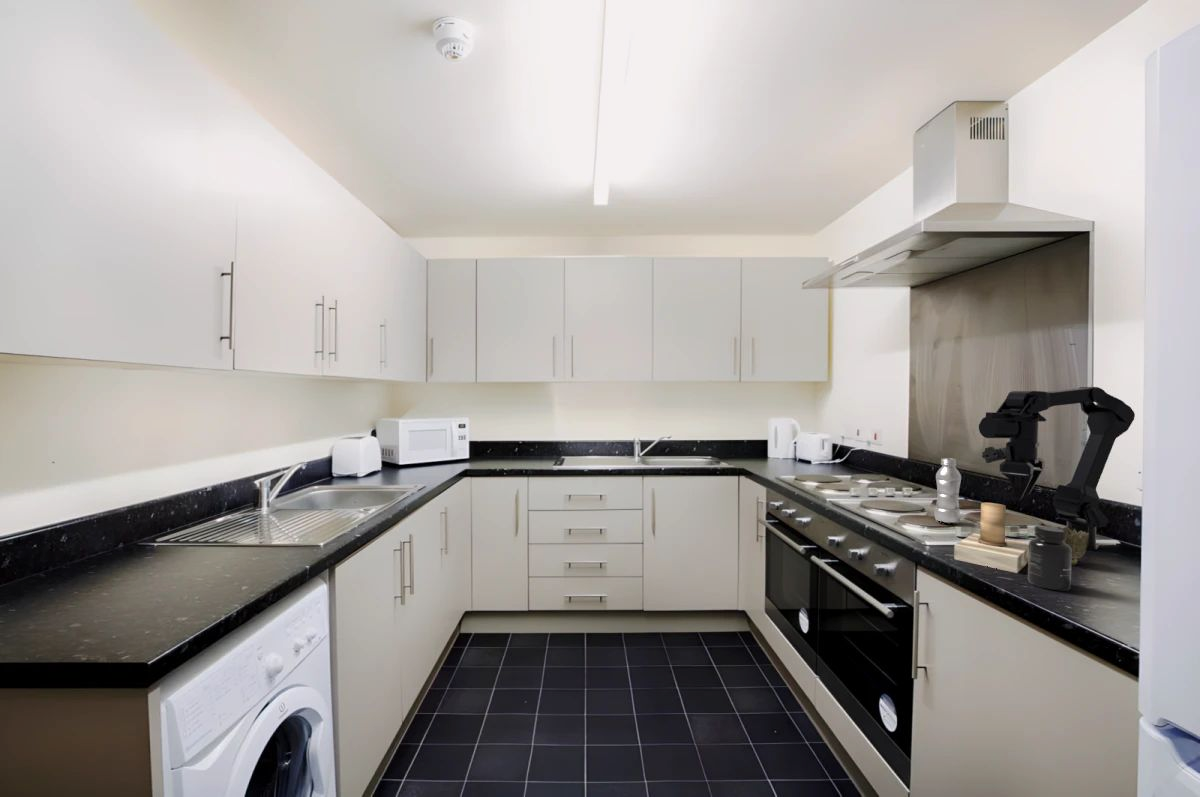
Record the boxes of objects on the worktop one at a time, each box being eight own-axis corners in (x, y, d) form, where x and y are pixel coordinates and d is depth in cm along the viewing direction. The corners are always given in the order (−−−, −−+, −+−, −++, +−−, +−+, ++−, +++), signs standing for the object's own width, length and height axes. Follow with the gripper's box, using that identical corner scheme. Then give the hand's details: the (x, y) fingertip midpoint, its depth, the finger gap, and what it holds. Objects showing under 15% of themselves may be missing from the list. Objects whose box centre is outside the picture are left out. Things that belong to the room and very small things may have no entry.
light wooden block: (973, 546, 134) (973, 533, 134) (1032, 558, 125) (1032, 544, 125) (954, 559, 123) (954, 544, 123) (1017, 573, 114) (1017, 557, 114)
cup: (1070, 558, 125) (1071, 526, 124) (1097, 569, 117) (1098, 534, 117) (1038, 557, 125) (1038, 525, 125) (1062, 568, 118) (1062, 533, 118)
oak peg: (981, 551, 129) (982, 501, 129) (1009, 557, 125) (1010, 505, 124) (974, 556, 125) (976, 504, 125) (1003, 562, 121) (1004, 508, 121)
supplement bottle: (1074, 594, 102) (1076, 535, 102) (1030, 587, 106) (1032, 530, 106) (1066, 583, 108) (1067, 527, 108) (1024, 577, 112) (1026, 522, 112)
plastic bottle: (930, 520, 161) (931, 457, 160) (953, 521, 160) (954, 458, 160) (940, 525, 154) (942, 460, 154) (965, 526, 153) (966, 460, 153)
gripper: (994, 434, 146) (993, 488, 146) (976, 437, 134) (974, 497, 134) (1045, 437, 137) (1044, 495, 138) (1031, 441, 125) (1029, 504, 126)
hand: (1021, 497), depth 134 cm, fingers open, 9 cm apart
